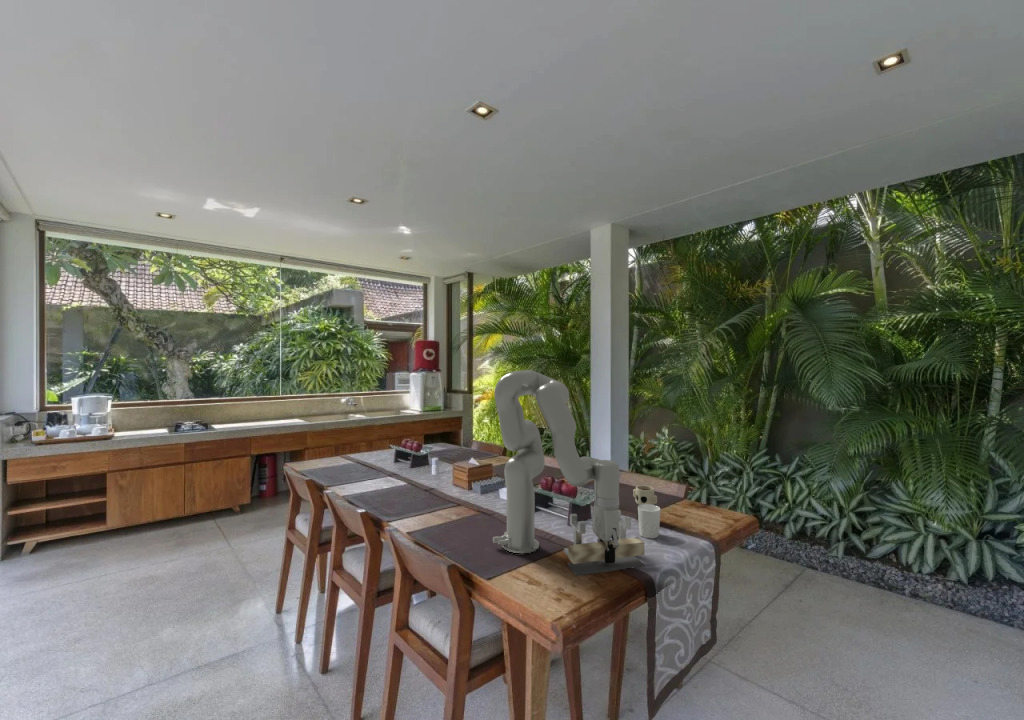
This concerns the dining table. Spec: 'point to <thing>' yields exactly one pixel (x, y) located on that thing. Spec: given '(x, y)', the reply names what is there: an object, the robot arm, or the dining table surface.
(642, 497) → the character mug
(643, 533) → the white cup
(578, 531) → the hook stands
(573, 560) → the rail
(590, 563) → the mat
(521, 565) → the dining table surface
